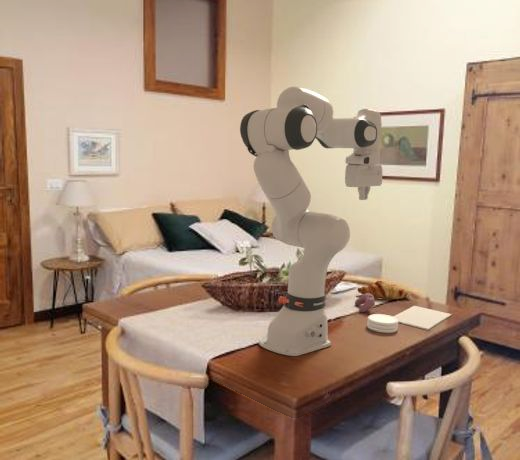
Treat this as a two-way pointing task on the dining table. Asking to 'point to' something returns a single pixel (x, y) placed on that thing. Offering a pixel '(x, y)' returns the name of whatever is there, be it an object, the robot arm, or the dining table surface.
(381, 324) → the coaster
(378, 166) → the robot arm
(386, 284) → the croissant
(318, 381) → the dining table surface
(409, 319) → the cream rectangular panel
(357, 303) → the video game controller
